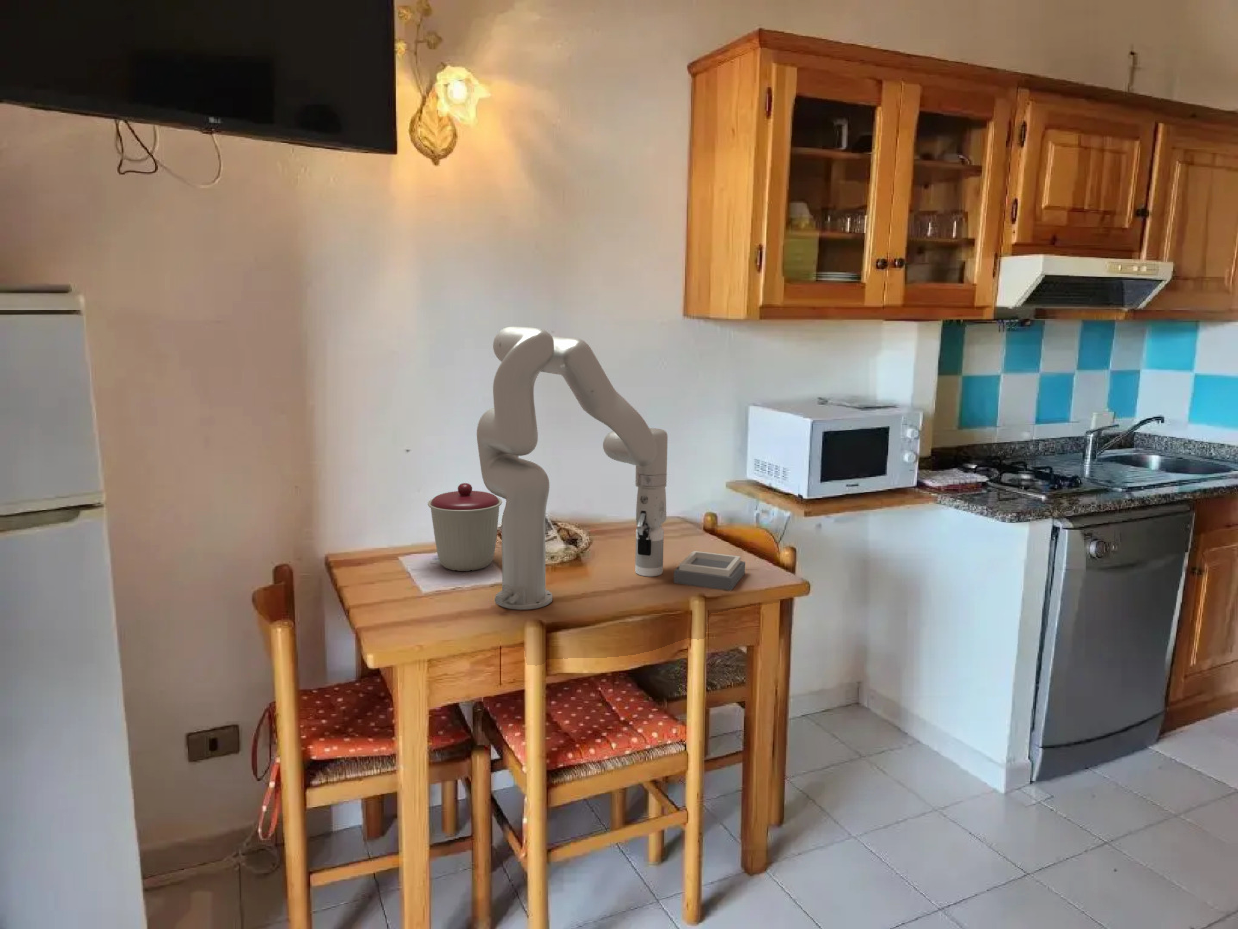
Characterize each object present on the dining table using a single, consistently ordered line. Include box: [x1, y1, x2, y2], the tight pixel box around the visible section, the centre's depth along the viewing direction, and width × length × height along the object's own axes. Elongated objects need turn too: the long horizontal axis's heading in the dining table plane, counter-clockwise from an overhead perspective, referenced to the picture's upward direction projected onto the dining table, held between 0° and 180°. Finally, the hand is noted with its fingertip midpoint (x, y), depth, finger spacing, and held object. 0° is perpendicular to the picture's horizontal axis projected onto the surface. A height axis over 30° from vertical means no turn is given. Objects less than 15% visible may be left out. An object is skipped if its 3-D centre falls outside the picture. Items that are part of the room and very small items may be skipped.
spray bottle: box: [634, 524, 665, 577], centre depth 208 cm, size 7×7×18 cm
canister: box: [427, 482, 503, 572], centre depth 211 cm, size 18×18×21 cm
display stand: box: [673, 550, 746, 591], centre depth 206 cm, size 14×14×4 cm
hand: (649, 550), depth 209 cm, fingers closed on spray bottle, 6 cm apart
